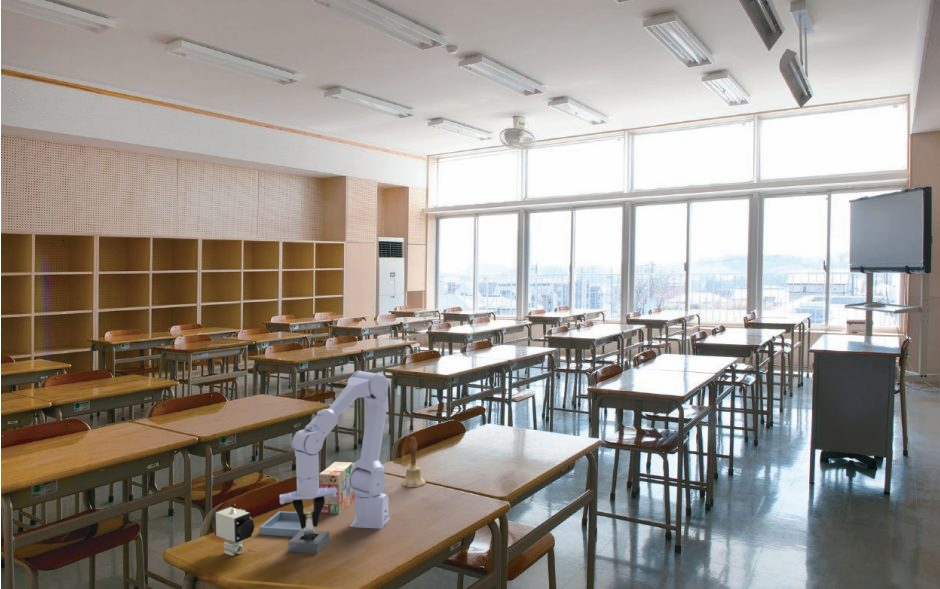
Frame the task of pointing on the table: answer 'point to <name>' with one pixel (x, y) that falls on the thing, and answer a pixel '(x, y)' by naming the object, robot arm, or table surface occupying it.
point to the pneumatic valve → (233, 528)
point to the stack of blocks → (337, 486)
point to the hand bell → (413, 469)
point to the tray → (282, 524)
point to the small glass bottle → (309, 525)
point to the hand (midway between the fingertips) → (308, 526)
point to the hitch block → (308, 542)
